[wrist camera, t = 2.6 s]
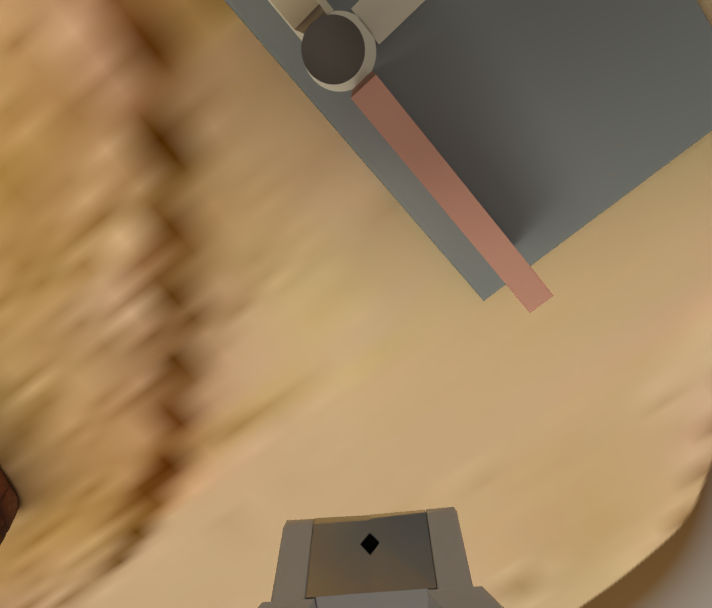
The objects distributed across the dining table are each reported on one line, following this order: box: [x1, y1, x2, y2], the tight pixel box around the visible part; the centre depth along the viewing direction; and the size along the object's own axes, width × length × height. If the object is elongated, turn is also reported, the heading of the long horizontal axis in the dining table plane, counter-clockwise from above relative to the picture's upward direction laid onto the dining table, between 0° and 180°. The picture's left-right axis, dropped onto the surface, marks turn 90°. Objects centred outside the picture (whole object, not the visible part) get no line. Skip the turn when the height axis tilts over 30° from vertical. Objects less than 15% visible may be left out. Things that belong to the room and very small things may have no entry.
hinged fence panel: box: [351, 71, 554, 313], centre depth 20 cm, size 10×1×5 cm, turn 41°
